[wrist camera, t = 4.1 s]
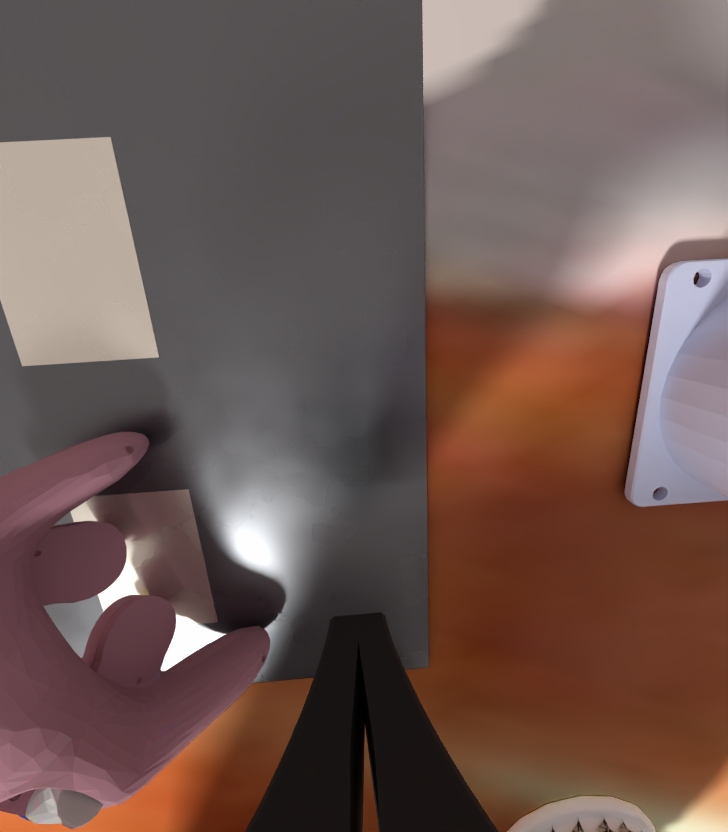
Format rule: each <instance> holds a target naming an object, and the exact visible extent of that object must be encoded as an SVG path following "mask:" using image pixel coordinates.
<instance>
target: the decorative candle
mask: <svg viewBox="0 0 728 832" xmlns="http://www.w3.org/2000/svg"><path fill="white" fill-rule="evenodd" d="M507 832H656V831H655V828H654V826H653V824H652V823H651V821H650V820H649V818H648V817H647V816H646V815H645V814H644V813H643V812H642V811H641V810H640V809H639V808H638V807H637V806H636V805H634V804H632V803H629V802H626V801H623V800H620V799H617V798H615V797H612V796H578V797H573V798H569V799H565V800H561V801H557V802H553V803H548V804H546V805H544V806H542V807H540V808H539V809H537V810H535V811H533V812H531V813H529V814H527V815H525V816H523V817H521V818H520V819H519V820H518V821H517V822H516V823H515V824H514V825H513V826H512V827H511V828H510V829H509V830H508V831H507Z"/></svg>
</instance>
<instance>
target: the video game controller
mask: <svg viewBox="0 0 728 832" xmlns="http://www.w3.org/2000/svg"><path fill="white" fill-rule="evenodd" d="M148 446H149V440H148V438H147V437H146V436H145V435H144V434H140V433H136V432H117V433H112V434H108V435H104V436H101V437H98V438H94V439H91V440H88V441H85V442H82V443H80V444H77V445H74V446H71V447H68V448H66V449H63V450H61V451H59V452H57V453H54V454H52V455H50V456H47V457H45V458H43V459H41V460H38V461H36V462H34V463H31V464H29V465H26V466H24V467H21V468H19V469H16V470H14V471H12V472H10V473H8V474H6V475H4V476H2V477H0V811H4V812H7V813H12V814H17V815H19V816H20V817H22V818H24V819H26V820H29V821H32V822H33V823H40V824H60V823H62V824H63V825H64V826H66V827H68V828H70V829H74V828H79V827H82V826H83V825H85V824H86V823H88V822H89V821H91V820H92V819H93V818H94V817H95V816H96V815H97V814H98V812H99V811H100V809H103V808H107V807H111V806H114V805H118V804H121V803H123V802H125V801H126V800H128V799H129V798H130V797H132V796H133V795H134V794H135V793H137V792H138V791H139V790H140V789H142V788H143V787H144V786H145V785H147V784H148V783H149V782H150V781H151V780H152V779H153V778H154V777H155V776H156V775H157V774H158V773H159V772H160V771H161V770H162V769H163V768H164V767H165V766H166V765H167V764H168V763H169V762H171V761H172V760H173V759H174V758H175V757H176V756H177V755H178V754H179V753H180V752H181V751H182V750H183V749H184V748H185V747H186V746H187V745H188V744H189V743H190V742H191V741H192V740H193V739H195V738H196V737H197V736H198V735H199V734H200V733H201V732H202V731H203V730H204V729H205V728H207V727H208V726H209V725H210V724H211V723H212V722H213V721H214V720H215V719H216V718H218V717H219V716H220V715H221V714H222V713H223V712H224V711H225V710H226V709H227V708H228V707H230V706H231V705H232V704H233V703H234V702H235V701H236V700H237V699H238V698H239V697H240V696H241V695H242V694H243V693H244V692H245V691H246V690H247V689H248V688H249V686H250V685H251V684H252V683H253V681H254V679H255V678H256V676H257V675H258V673H259V671H260V670H261V668H262V667H263V665H264V663H265V660H266V658H267V656H268V652H269V648H270V637H269V634H268V633H267V631H266V630H264V629H263V628H261V627H260V626H251V627H246V628H241V629H237V630H235V631H232V632H230V633H228V634H226V635H223V636H221V637H219V638H218V639H216V640H214V641H212V642H210V643H208V644H207V645H205V646H203V647H202V648H200V649H198V650H197V651H195V652H193V653H192V654H190V655H188V656H187V657H185V658H184V659H182V660H181V661H180V662H178V663H177V664H175V665H174V666H172V667H171V668H169V669H168V670H166V671H161V666H162V664H163V661H164V658H165V655H166V653H167V651H168V648H169V646H170V644H171V641H172V639H173V637H174V633H175V629H176V622H177V619H176V614H175V610H174V608H173V607H172V605H171V604H170V603H169V602H168V601H167V600H165V599H163V598H161V597H158V596H151V595H134V594H133V595H128V596H125V597H122V598H120V599H118V600H116V601H115V602H113V603H112V604H111V605H110V606H108V607H107V608H106V610H105V611H104V612H103V613H102V614H101V615H100V617H99V618H98V620H97V622H96V624H95V625H94V627H93V629H92V630H91V633H90V635H89V638H88V641H87V644H86V648H85V652H84V655H83V657H82V658H80V656H79V655H78V654H77V653H76V652H75V651H74V650H73V649H72V647H71V646H70V645H69V643H68V642H67V641H66V639H65V638H64V636H63V635H62V634H61V632H60V631H59V630H58V628H57V627H56V625H55V624H54V622H53V621H52V619H51V618H50V616H49V614H48V613H47V611H46V610H45V608H44V607H43V606H46V605H51V604H59V603H75V602H79V601H82V600H86V599H90V598H92V597H94V596H96V595H97V594H99V593H101V592H103V591H104V590H106V589H107V588H108V587H109V586H111V585H112V584H113V583H114V582H115V581H116V580H117V578H118V577H119V576H120V574H121V572H122V571H123V569H124V566H125V563H126V557H127V547H126V544H125V540H124V538H123V536H122V534H121V533H120V531H119V530H118V529H117V528H116V527H114V526H113V525H111V524H109V523H105V522H100V521H80V522H71V523H65V524H60V525H54V524H55V523H57V522H58V521H59V520H60V519H62V518H63V517H64V516H65V515H66V514H68V513H69V512H70V511H72V510H73V509H75V508H76V507H78V506H80V505H81V504H83V503H84V502H86V501H87V500H89V499H90V498H92V497H93V496H95V495H96V494H98V493H100V492H101V491H103V490H104V489H106V488H107V487H109V486H110V485H112V484H113V483H115V482H117V481H118V480H120V479H121V478H122V477H123V476H124V475H125V474H126V473H127V472H128V471H129V470H130V469H131V468H133V467H134V466H135V465H136V464H137V463H138V462H139V461H140V459H141V458H142V457H143V456H144V454H145V453H146V452H147V449H148ZM53 525H54V526H53Z"/></svg>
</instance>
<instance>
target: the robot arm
mask: <svg viewBox="0 0 728 832" xmlns="http://www.w3.org/2000/svg"><path fill="white" fill-rule="evenodd" d="M697 272H698V273H699V280H698V282H697V284H696V285H695V284H694V280H693V278H694V276H695V274H696V273H697ZM657 488H658V490H657V492H655V493H654V494H653V492H654V491H655V490H656V489H657ZM625 497H626V499H627V500H628V501H630V502H631V503H633V504H634V505H636V506H639V507H648V506H661V505H674V504H686V503H699V502H712V501H725V500H728V258H722V259H706V260H689V261H680V262H675V263H672V264H671V265H669V266H668V267H666V268H665V270H664V271H663V272H662V274H661V277H660V280H659V285H658V291H657V297H656V303H655V309H654V315H653V321H652V327H651V333H650V339H649V345H648V351H647V358H646V364H645V370H644V376H643V382H642V388H641V394H640V400H639V406H638V412H637V418H636V425H635V431H634V437H633V443H632V449H631V455H630V461H629V467H628V473H627V479H626V485H625ZM365 727H366V735H367V742H368V750H369V758H370V766H371V773H372V781H373V789H374V796H375V804H376V812H377V820H378V827H379V832H498V830H497V829H496V827H495V826H494V825H493V823H492V822H491V820H490V819H489V817H488V816H487V814H486V813H485V811H484V809H483V808H482V806H481V805H480V803H479V802H478V800H477V799H476V797H475V796H474V794H473V793H472V791H471V790H470V788H469V786H468V785H467V783H466V782H465V780H464V778H463V777H462V775H461V774H460V772H459V770H458V769H457V767H456V765H455V764H454V762H453V761H452V759H451V757H450V755H449V754H448V752H447V750H446V749H445V747H444V745H443V743H442V742H441V740H440V738H439V736H438V735H437V733H436V731H435V729H434V727H433V725H432V724H431V722H430V720H429V718H428V716H427V715H426V713H425V711H424V709H423V707H422V705H421V703H420V701H419V699H418V697H417V695H416V693H415V691H414V689H413V687H412V684H411V682H410V680H409V678H408V676H407V674H406V672H405V670H404V667H403V665H402V663H401V660H400V658H399V656H398V653H397V651H396V648H395V646H394V643H393V640H392V637H391V634H390V631H389V628H388V625H387V621H386V616H385V615H384V614H383V613H381V612H379V613H368V614H356V615H345V616H334V617H333V618H332V619H331V620H330V623H329V629H328V633H327V637H326V641H325V645H324V649H323V652H322V656H321V659H320V662H319V665H318V668H317V671H316V674H315V677H314V680H313V682H312V685H311V688H310V691H309V694H308V696H307V699H306V702H305V704H304V707H303V710H302V712H301V714H300V717H299V719H298V722H297V724H296V726H295V729H294V731H293V733H292V736H291V738H290V741H289V743H288V745H287V748H286V750H285V752H284V754H283V757H282V759H281V761H280V763H279V765H278V768H277V770H276V772H275V774H274V776H273V778H272V780H271V782H270V784H269V786H268V788H267V790H266V792H265V794H264V797H263V799H262V801H261V803H260V805H259V807H258V809H257V811H256V812H255V814H254V816H253V818H252V820H251V822H250V824H249V826H248V828H247V829H246V831H245V832H362V827H363V783H364V737H365Z"/></svg>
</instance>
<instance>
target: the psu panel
mask: <svg viewBox="0 0 728 832" xmlns="http://www.w3.org/2000/svg"><path fill="white" fill-rule="evenodd" d="M422 44H423V42H422V0H0V477H2V476H4V475H6V474H8V473H10V472H12V471H14V470H16V469H19V468H21V467H24V466H26V465H29V464H31V463H34V462H36V461H38V460H41V459H43V458H45V457H47V456H50V455H52V454H54V453H57V452H59V451H61V450H63V449H66V448H68V447H71V446H74V445H77V444H80V443H82V442H85V441H88V440H91V439H94V438H98V437H101V436H104V435H108V434H112V433H117V432H136V433H140V434H144V435H145V436H146V437H147V438H148V440H149V446H148V449H147V452H146V453H145V454H144V456H143V457H142V458H141V459H140V461H139V462H138V463H137V464H136V465H135V466H134V467H133V468H131V469H130V470H129V471H128V472H127V473H126V474H125V475H124V476H123V477H122V478H121V479H120V480H118V481H117V482H115V483H113V484H112V485H110V486H109V487H107V488H106V489H104V490H103V491H101V492H100V493H98V494H96V495H95V496H93V497H92V498H90V499H89V500H87V501H86V502H84V503H83V504H81V505H80V506H78V507H76V508H75V509H73V510H72V511H70V512H69V513H68V514H66V515H65V516H64V517H63V518H62V519H60V520H59V521H58V522H57V523H55V524H54V525H60V524H65V523H71V522H80V521H100V522H105V523H109V524H111V525H113V526H114V527H116V528H117V529H118V530H119V531H120V533H121V534H122V536H123V538H124V540H125V544H126V547H127V557H126V563H125V566H124V569H123V571H122V572H121V574H120V576H119V577H118V578H117V580H116V581H115V582H114V583H113V584H112V585H111V586H109V587H108V588H107V589H106V590H104V591H103V592H101V593H99V594H97V595H96V596H94V597H92V598H90V599H86V600H82V601H79V602H75V603H59V604H51V605H46V606H43V607H44V608H45V610H46V611H47V613H48V614H49V616H50V618H51V619H52V621H53V622H54V624H55V625H56V627H57V628H58V630H59V631H60V632H61V634H62V635H63V636H64V638H65V639H66V641H67V642H68V643H69V645H70V646H71V647H72V649H73V650H74V651H75V652H76V653H77V654H78V655H79V656H80V658H82V657H83V655H84V652H85V648H86V644H87V641H88V638H89V635H90V633H91V630H92V629H93V627H94V625H95V624H96V622H97V620H98V618H99V617H100V615H101V614H102V613H103V612H104V611H105V610H106V608H107V607H108V606H110V605H111V604H112V603H113V602H115V601H116V600H118V599H120V598H122V597H125V596H128V595H133V594H134V595H151V596H158V597H161V598H163V599H165V600H167V601H168V602H169V603H170V604H171V605H172V607H173V608H174V610H175V614H176V619H177V622H176V629H175V633H174V637H173V639H172V641H171V644H170V646H169V648H168V651H167V653H166V655H165V658H164V661H163V664H162V666H161V671H166V670H168V669H169V668H171V667H172V666H174V665H175V664H177V663H178V662H180V661H181V660H182V659H184V658H185V657H187V656H188V655H190V654H192V653H193V652H195V651H197V650H198V649H200V648H202V647H203V646H205V645H207V644H208V643H210V642H212V641H214V640H216V639H218V638H219V637H221V636H223V635H226V634H228V633H230V632H232V631H235V630H237V629H241V628H246V627H251V626H260V627H261V628H263V629H264V630H266V631H267V633H268V634H269V637H270V648H269V652H268V656H267V658H266V660H265V663H264V665H263V667H262V668H261V670H260V671H259V673H258V675H257V676H256V678H255V679H254V681H253V683H257V682H268V681H280V680H291V679H303V678H314V677H315V674H316V671H317V668H318V665H319V662H320V659H321V656H322V652H323V649H324V645H325V641H326V637H327V633H328V629H329V623H330V620H331V619H332V618H333V617H334V616H345V615H356V614H368V613H379V612H381V613H383V614H384V615H385V616H386V621H387V625H388V628H389V631H390V634H391V637H392V640H393V643H394V646H395V648H396V651H397V653H398V656H399V658H400V660H401V663H402V665H403V667H404V670H405V669H417V668H428V667H429V632H428V534H427V435H426V337H425V239H424V140H423V47H422V46H423V45H422ZM54 525H53V526H54Z"/></svg>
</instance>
